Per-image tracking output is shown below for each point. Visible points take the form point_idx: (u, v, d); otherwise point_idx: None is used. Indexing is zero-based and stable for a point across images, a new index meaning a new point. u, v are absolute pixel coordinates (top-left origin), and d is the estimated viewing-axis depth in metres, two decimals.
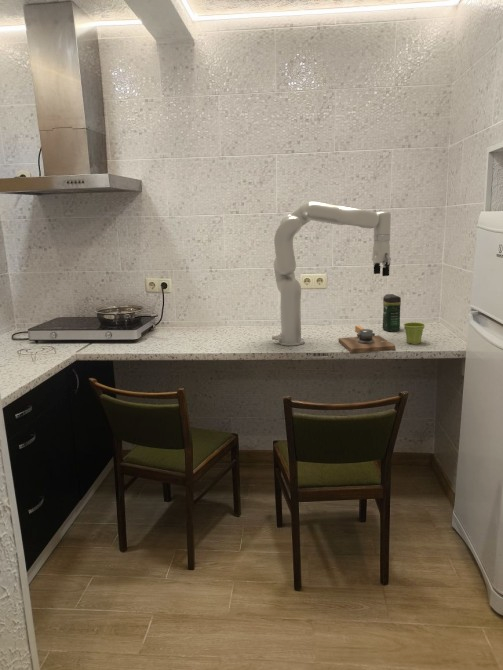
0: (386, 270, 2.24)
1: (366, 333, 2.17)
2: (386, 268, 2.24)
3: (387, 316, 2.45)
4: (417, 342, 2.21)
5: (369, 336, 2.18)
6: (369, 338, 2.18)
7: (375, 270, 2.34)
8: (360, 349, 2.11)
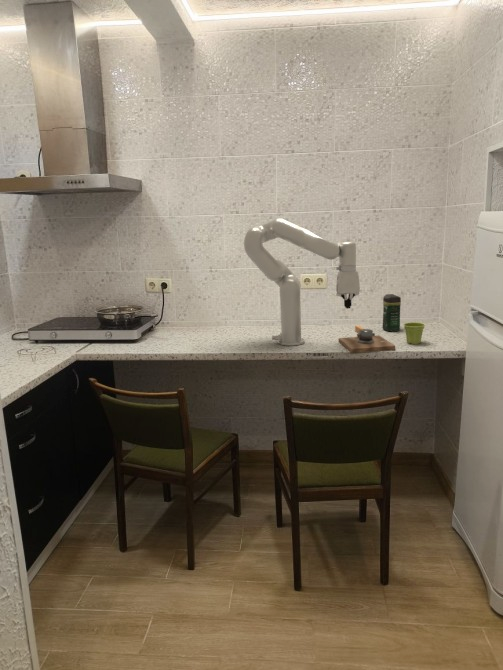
0: None
1: (366, 333, 2.17)
2: None
3: (387, 316, 2.45)
4: (417, 342, 2.21)
5: (369, 336, 2.18)
6: (369, 338, 2.18)
7: None
8: (360, 349, 2.11)
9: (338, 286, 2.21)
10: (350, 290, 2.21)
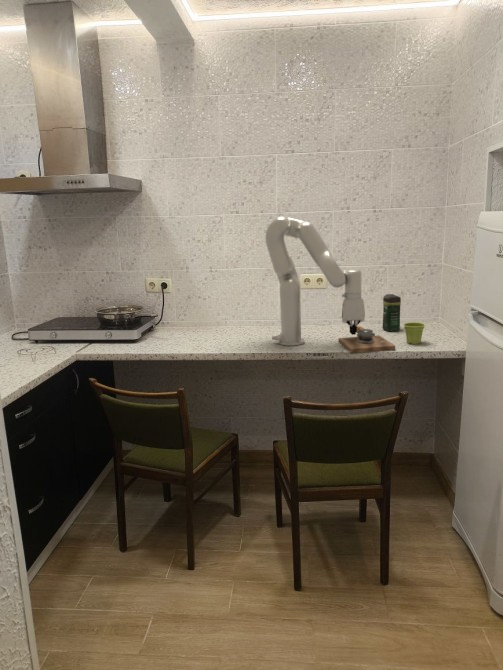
0: None
1: (366, 333, 2.17)
2: None
3: (387, 316, 2.45)
4: (417, 342, 2.21)
5: (369, 336, 2.18)
6: (369, 338, 2.18)
7: None
8: (360, 349, 2.11)
9: (344, 313, 2.24)
10: (355, 317, 2.25)
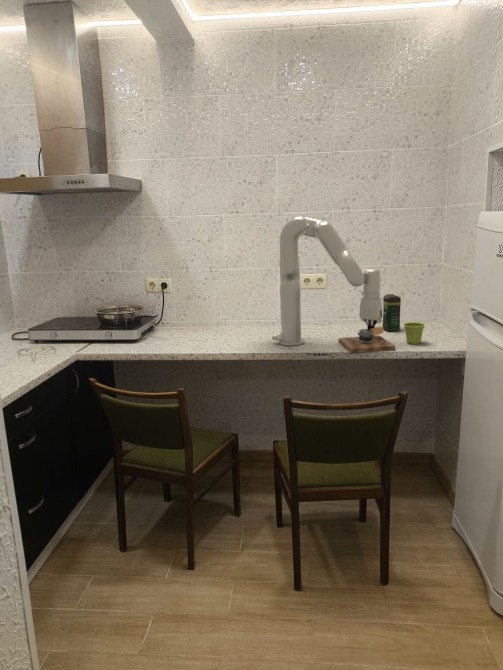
0: None
1: (360, 332, 2.19)
2: (373, 326, 2.27)
3: (387, 316, 2.45)
4: (417, 342, 2.21)
5: (363, 336, 2.18)
6: (363, 338, 2.18)
7: None
8: (360, 349, 2.11)
9: None
10: (368, 316, 2.25)
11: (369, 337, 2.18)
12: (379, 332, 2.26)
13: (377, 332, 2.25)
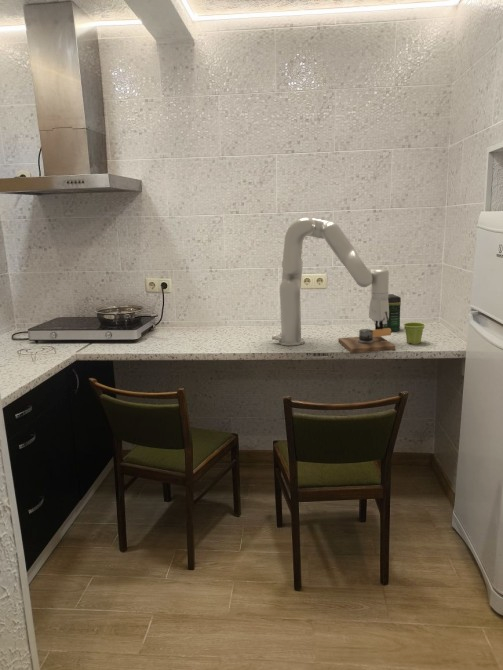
0: None
1: (359, 332, 2.20)
2: (380, 327, 2.24)
3: None
4: (417, 342, 2.21)
5: (361, 336, 2.19)
6: (361, 338, 2.19)
7: None
8: (360, 349, 2.11)
9: None
10: (374, 317, 2.23)
11: (366, 337, 2.18)
12: (385, 334, 2.22)
13: (382, 334, 2.22)
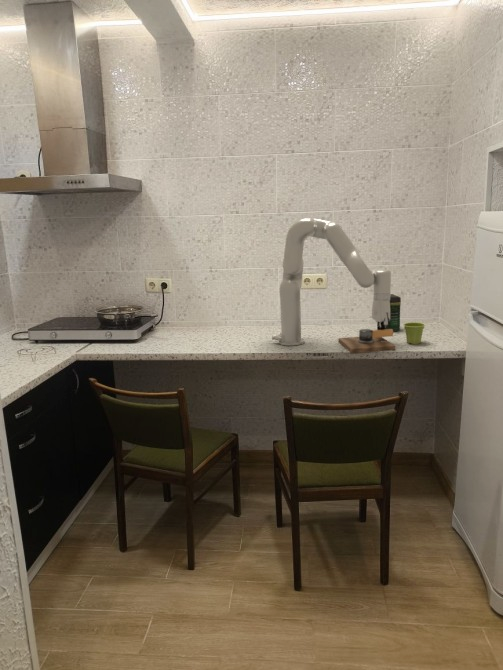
0: None
1: (359, 332, 2.21)
2: (382, 328, 2.23)
3: None
4: (417, 342, 2.21)
5: (360, 335, 2.19)
6: (360, 337, 2.20)
7: None
8: (360, 349, 2.11)
9: None
10: (376, 317, 2.22)
11: (365, 337, 2.18)
12: (386, 335, 2.21)
13: (383, 334, 2.21)
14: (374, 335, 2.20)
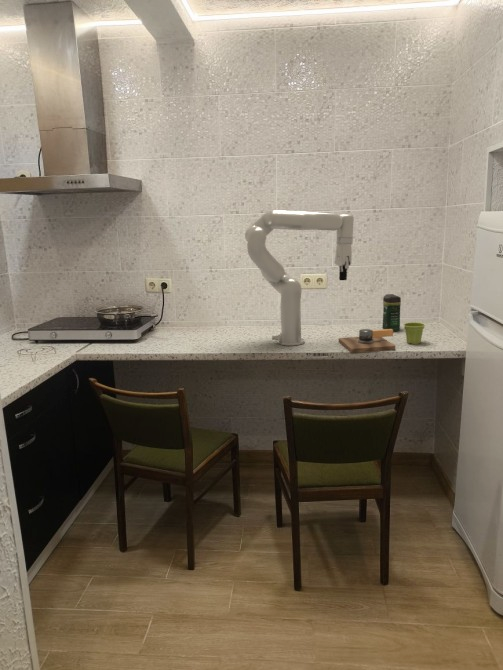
0: (343, 274, 2.29)
1: (359, 332, 2.21)
2: (344, 272, 2.29)
3: (387, 316, 2.45)
4: (417, 342, 2.21)
5: (360, 335, 2.19)
6: (360, 337, 2.20)
7: None
8: (360, 349, 2.11)
9: None
10: (338, 262, 2.28)
11: (365, 337, 2.18)
12: (386, 335, 2.21)
13: (383, 334, 2.20)
14: (374, 335, 2.20)
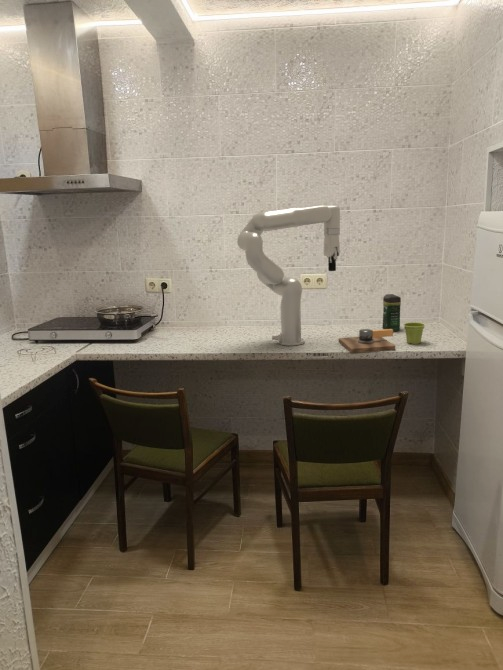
0: (332, 265, 2.31)
1: (359, 332, 2.21)
2: (332, 263, 2.31)
3: (387, 316, 2.45)
4: (417, 342, 2.21)
5: (360, 335, 2.19)
6: (360, 337, 2.20)
7: None
8: (360, 349, 2.11)
9: None
10: (326, 253, 2.30)
11: (365, 337, 2.18)
12: (386, 335, 2.21)
13: (383, 334, 2.20)
14: (374, 335, 2.20)
